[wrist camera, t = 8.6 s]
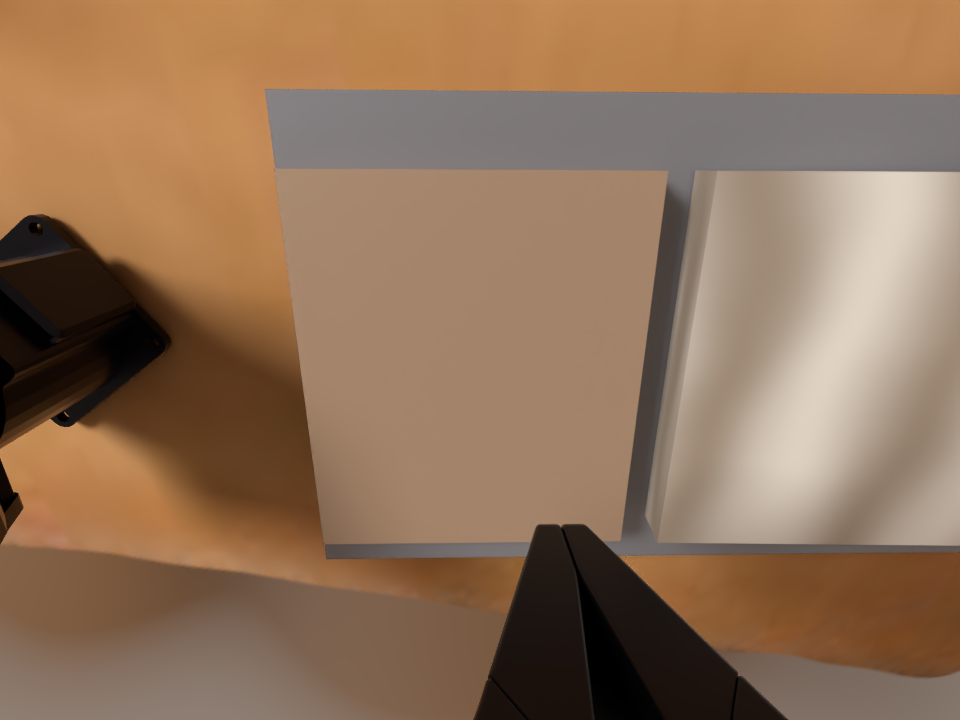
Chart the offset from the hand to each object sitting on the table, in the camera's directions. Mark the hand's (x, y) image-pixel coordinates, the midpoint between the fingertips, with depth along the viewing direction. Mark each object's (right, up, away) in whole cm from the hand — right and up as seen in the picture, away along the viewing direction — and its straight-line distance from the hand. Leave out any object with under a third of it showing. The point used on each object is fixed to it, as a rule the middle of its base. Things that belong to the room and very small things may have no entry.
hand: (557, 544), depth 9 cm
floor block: (+6, +5, +12) cm, 15 cm away
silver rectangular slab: (+12, +3, +8) cm, 15 cm away
